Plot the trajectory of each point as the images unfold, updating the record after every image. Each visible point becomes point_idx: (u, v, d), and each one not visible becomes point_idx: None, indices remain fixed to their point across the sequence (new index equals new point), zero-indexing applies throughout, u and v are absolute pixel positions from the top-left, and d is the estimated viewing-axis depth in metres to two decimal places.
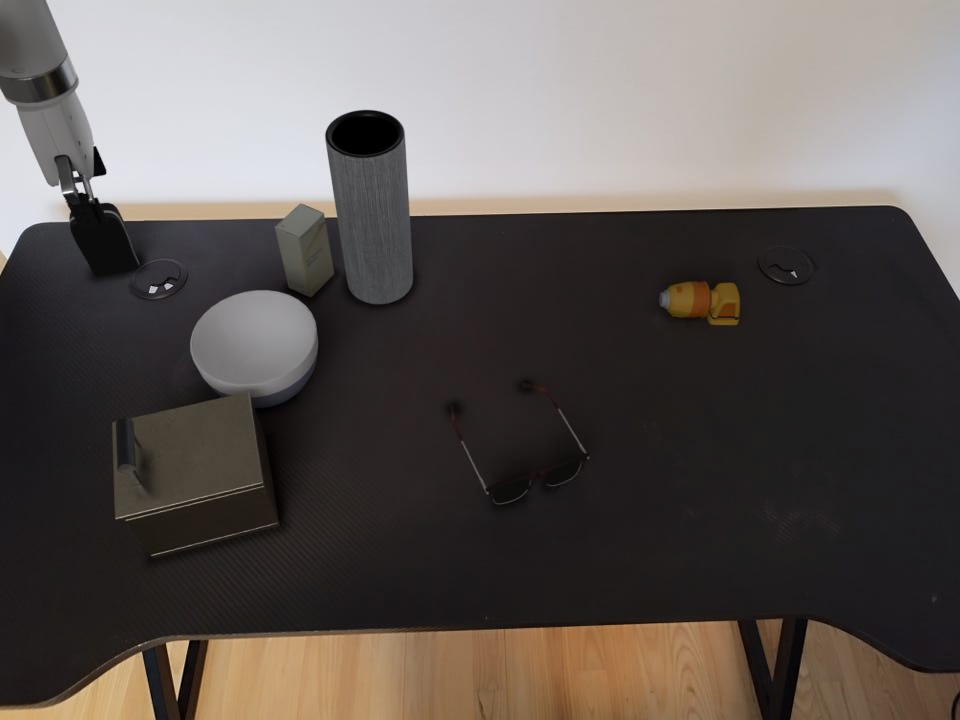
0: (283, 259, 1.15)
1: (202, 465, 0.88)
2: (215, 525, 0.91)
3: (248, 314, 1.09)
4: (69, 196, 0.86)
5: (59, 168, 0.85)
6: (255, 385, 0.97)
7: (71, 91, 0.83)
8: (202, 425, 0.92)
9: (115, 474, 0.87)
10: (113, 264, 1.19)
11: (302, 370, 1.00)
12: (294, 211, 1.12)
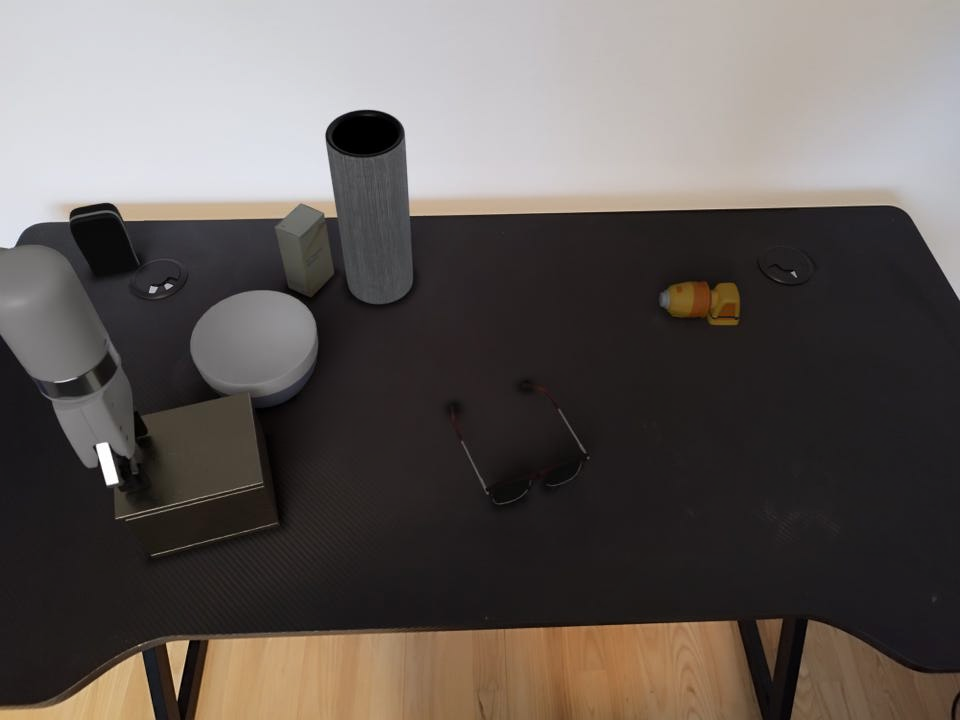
0: (283, 259, 1.15)
1: (202, 465, 0.88)
2: (215, 525, 0.91)
3: (248, 314, 1.09)
4: (114, 486, 0.78)
5: (101, 459, 0.77)
6: (255, 385, 0.97)
7: (113, 379, 0.74)
8: (202, 425, 0.92)
9: None
10: (113, 264, 1.19)
11: (302, 370, 1.00)
12: (294, 211, 1.12)
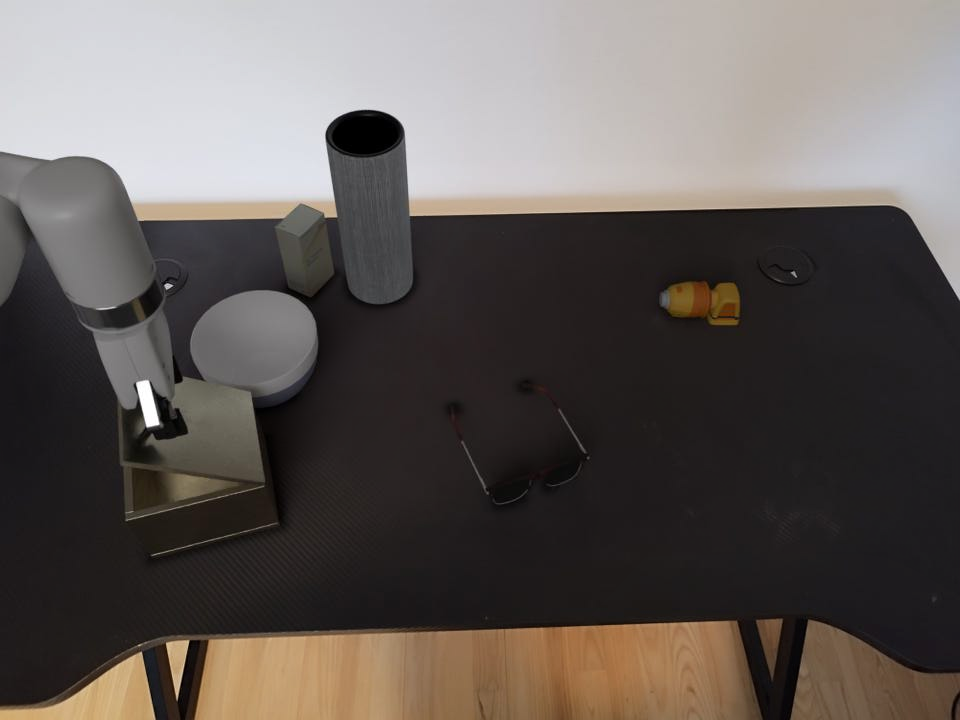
0: (283, 259, 1.15)
1: (209, 443, 0.86)
2: (215, 525, 0.91)
3: (248, 314, 1.09)
4: (154, 429, 0.73)
5: (142, 399, 0.72)
6: (255, 385, 0.97)
7: (158, 311, 0.69)
8: (209, 404, 0.89)
9: (123, 416, 0.80)
10: None
11: (302, 370, 1.00)
12: (294, 211, 1.12)
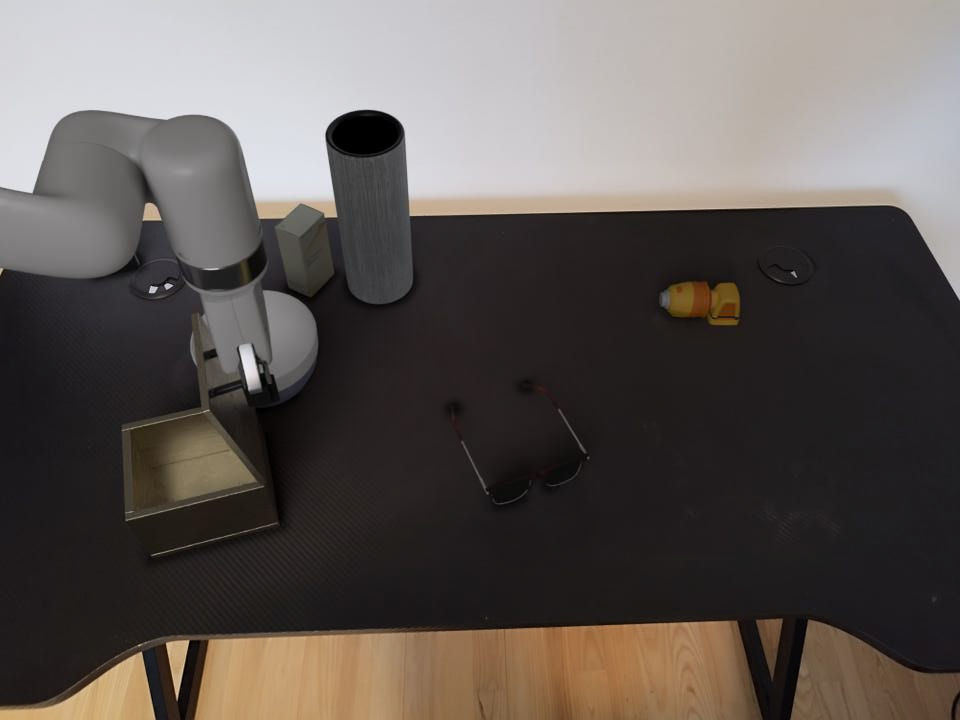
0: (283, 259, 1.15)
1: (242, 425, 0.85)
2: (215, 525, 0.91)
3: None
4: (255, 393, 0.73)
5: (244, 362, 0.72)
6: None
7: (263, 273, 0.70)
8: (237, 388, 0.89)
9: (205, 366, 0.78)
10: None
11: (302, 370, 1.00)
12: (294, 211, 1.12)
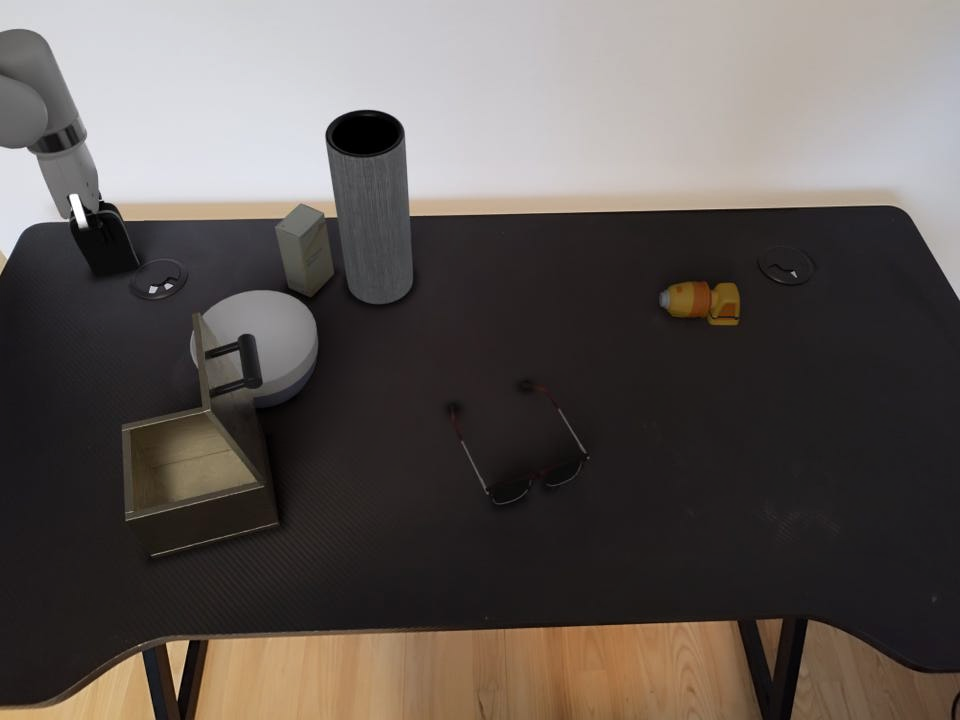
0: (283, 259, 1.15)
1: (242, 425, 0.85)
2: (215, 525, 0.91)
3: (248, 314, 1.09)
4: (85, 230, 1.07)
5: (74, 209, 1.06)
6: None
7: (81, 143, 1.02)
8: None
9: (206, 366, 0.78)
10: (113, 264, 1.19)
11: (302, 370, 1.00)
12: (294, 211, 1.12)
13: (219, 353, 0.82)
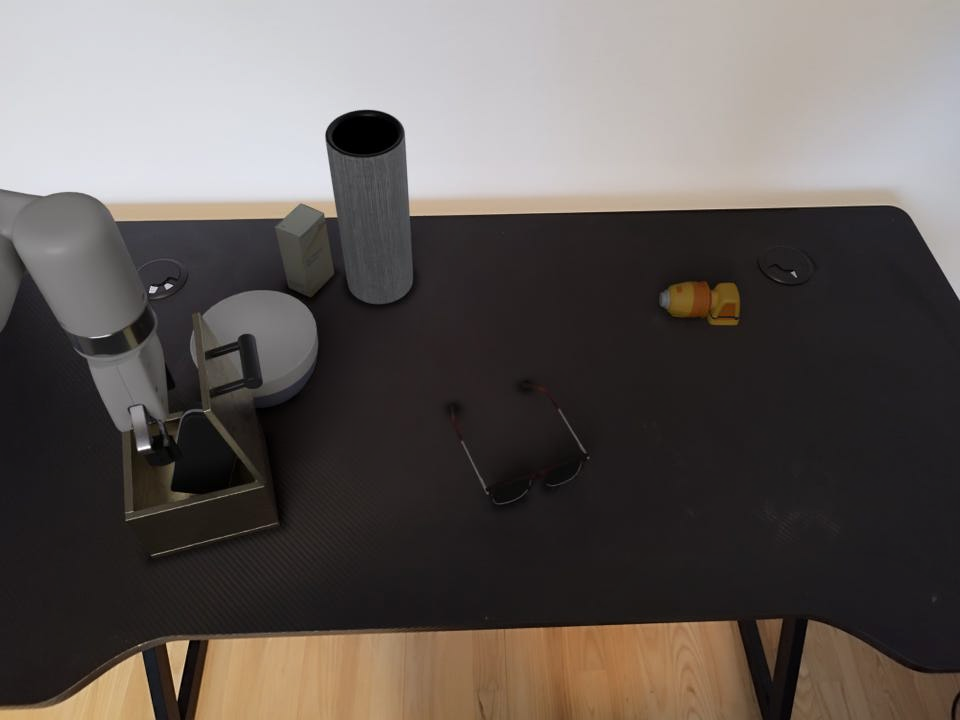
0: (283, 259, 1.15)
1: (242, 425, 0.85)
2: (215, 525, 0.91)
3: (248, 314, 1.09)
4: (145, 452, 0.74)
5: (134, 420, 0.73)
6: None
7: (150, 337, 0.71)
8: None
9: (206, 366, 0.78)
10: (202, 481, 0.94)
11: (302, 370, 1.00)
12: (294, 211, 1.12)
13: (219, 353, 0.82)
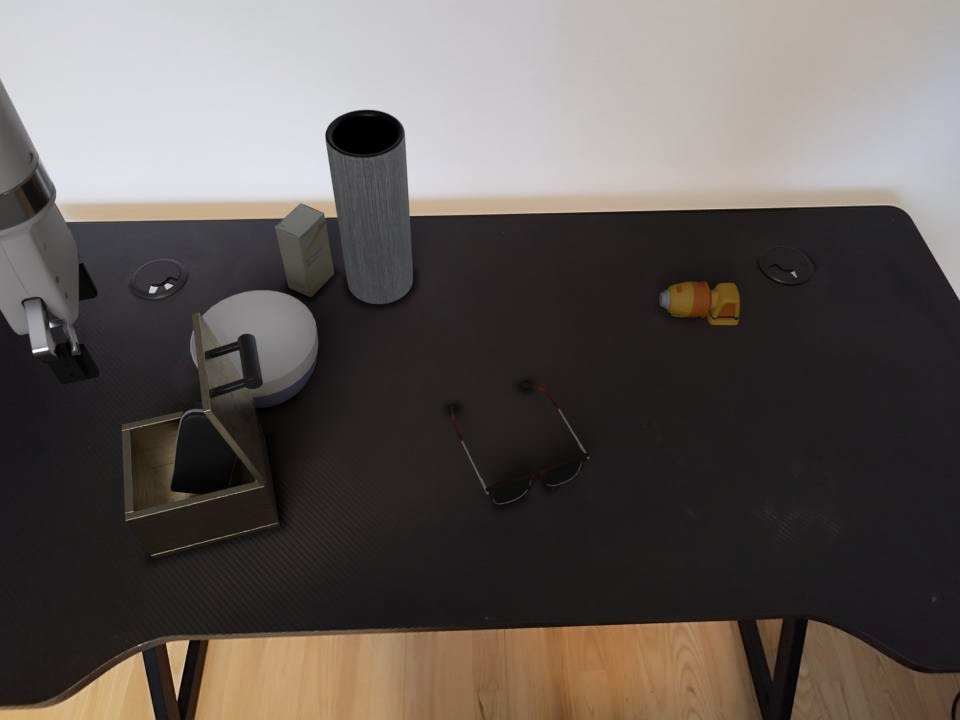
0: (283, 259, 1.15)
1: (242, 425, 0.85)
2: (215, 525, 0.91)
3: (248, 314, 1.09)
4: (43, 355, 0.61)
5: (29, 316, 0.61)
6: None
7: (45, 211, 0.59)
8: None
9: (206, 366, 0.78)
10: (202, 481, 0.94)
11: (302, 370, 1.00)
12: (294, 211, 1.12)
13: (219, 353, 0.82)
